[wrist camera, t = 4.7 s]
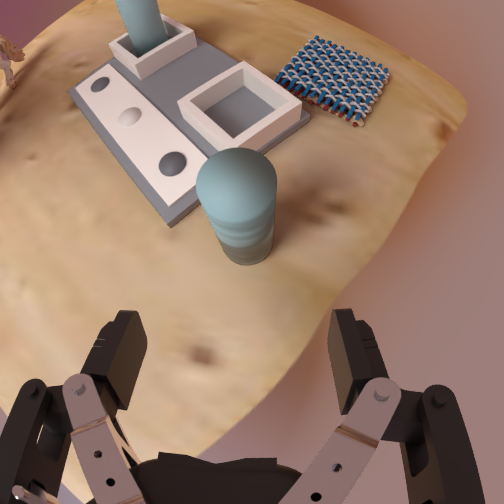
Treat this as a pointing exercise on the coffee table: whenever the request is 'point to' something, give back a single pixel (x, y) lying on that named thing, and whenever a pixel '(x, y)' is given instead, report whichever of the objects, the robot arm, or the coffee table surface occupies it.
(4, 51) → the unicorn figurine
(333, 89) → the woven mat
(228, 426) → the coffee table surface
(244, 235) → the teal peg
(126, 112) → the peg board
